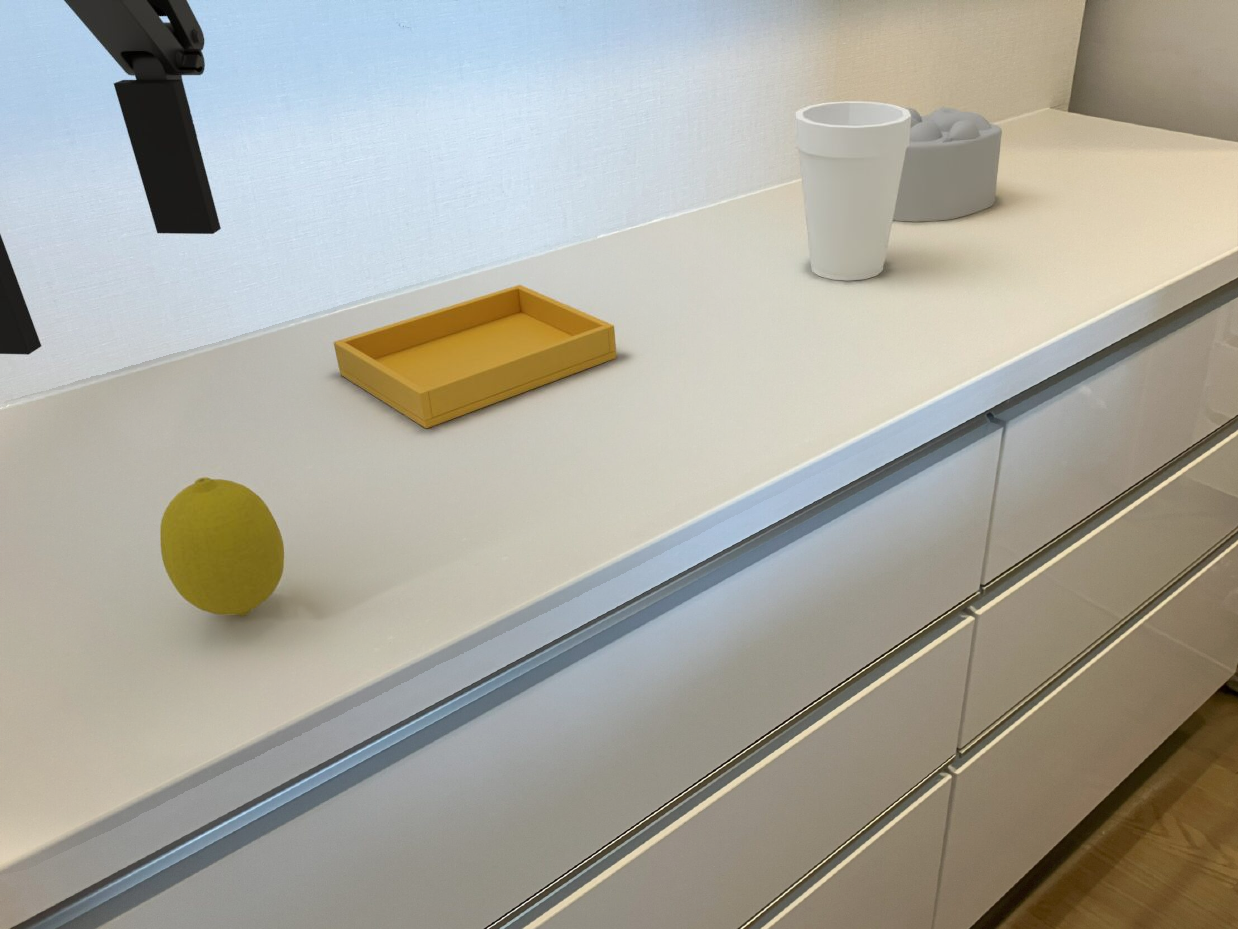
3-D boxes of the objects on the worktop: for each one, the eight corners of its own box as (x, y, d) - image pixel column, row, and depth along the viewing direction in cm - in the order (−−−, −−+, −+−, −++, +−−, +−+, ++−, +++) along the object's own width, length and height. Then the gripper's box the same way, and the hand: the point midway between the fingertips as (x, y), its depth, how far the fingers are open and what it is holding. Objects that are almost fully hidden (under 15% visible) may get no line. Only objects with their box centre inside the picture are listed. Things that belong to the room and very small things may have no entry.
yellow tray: (426, 429, 76) (419, 393, 75) (340, 374, 84) (332, 341, 83) (616, 358, 85) (614, 325, 84) (523, 315, 93) (519, 284, 92)
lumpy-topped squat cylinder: (1008, 202, 116) (1018, 112, 111) (920, 229, 109) (927, 135, 104) (930, 181, 122) (937, 96, 118) (843, 206, 116) (847, 117, 111)
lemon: (212, 583, 62) (170, 452, 57) (313, 583, 61) (279, 451, 57) (167, 647, 57) (118, 509, 53) (276, 648, 57) (236, 509, 52)
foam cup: (808, 291, 96) (811, 131, 89) (781, 255, 104) (782, 105, 97) (916, 280, 97) (927, 122, 90) (881, 246, 105) (890, 98, 98)
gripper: (-364, -461, 25) (-5, 424, 36) (203, -340, 45) (317, 196, 57) (-664, -442, 25) (-220, 417, 37) (28, -332, 46) (175, 195, 58)
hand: (106, 284), depth 47 cm, fingers open, 13 cm apart
